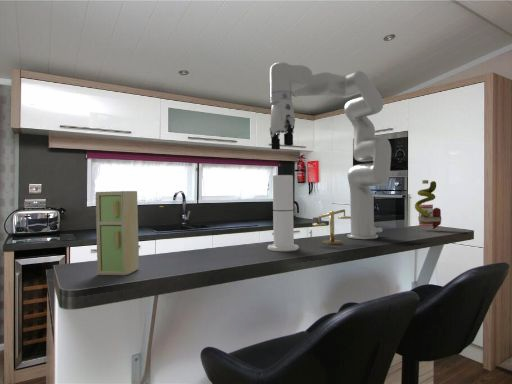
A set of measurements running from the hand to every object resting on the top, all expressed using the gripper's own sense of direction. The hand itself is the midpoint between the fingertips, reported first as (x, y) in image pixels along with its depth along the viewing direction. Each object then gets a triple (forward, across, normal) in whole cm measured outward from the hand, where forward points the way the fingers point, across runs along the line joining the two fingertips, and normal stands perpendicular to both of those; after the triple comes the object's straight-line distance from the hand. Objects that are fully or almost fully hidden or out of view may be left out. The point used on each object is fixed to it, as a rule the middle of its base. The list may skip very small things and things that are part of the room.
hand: (281, 147), depth 114 cm
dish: (+36, 0, 0) cm, 36 cm away
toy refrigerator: (+36, -11, +54) cm, 66 cm away
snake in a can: (+37, +11, -87) cm, 95 cm away
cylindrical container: (+35, 0, 0) cm, 35 cm away
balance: (+36, +1, -22) cm, 42 cm away
